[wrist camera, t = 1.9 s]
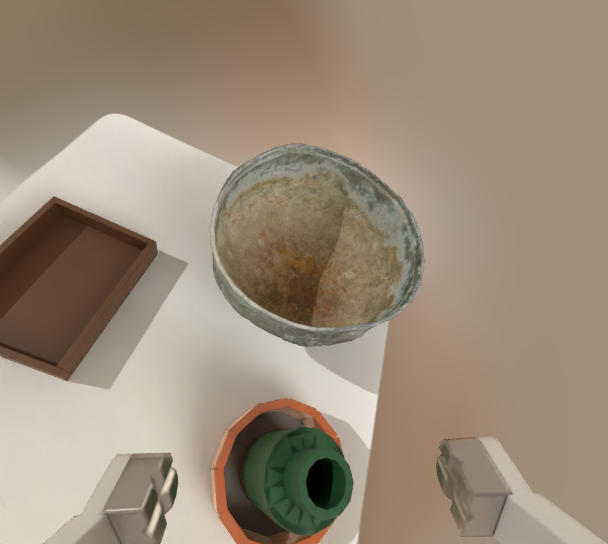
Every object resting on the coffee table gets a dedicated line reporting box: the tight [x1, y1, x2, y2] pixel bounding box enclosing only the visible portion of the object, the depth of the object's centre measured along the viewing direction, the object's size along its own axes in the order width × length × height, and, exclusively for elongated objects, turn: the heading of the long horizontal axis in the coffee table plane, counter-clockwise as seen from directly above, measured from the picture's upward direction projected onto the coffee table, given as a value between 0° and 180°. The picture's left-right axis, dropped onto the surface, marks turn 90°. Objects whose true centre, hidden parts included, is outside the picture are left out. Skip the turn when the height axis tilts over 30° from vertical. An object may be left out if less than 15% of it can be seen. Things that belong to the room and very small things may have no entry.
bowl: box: [210, 144, 425, 347], centre depth 34 cm, size 20×19×15 cm
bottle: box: [240, 427, 353, 535], centre depth 25 cm, size 6×6×14 cm
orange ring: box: [210, 398, 342, 544], centre depth 29 cm, size 12×12×4 cm
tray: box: [0, 197, 158, 381], centre depth 31 cm, size 15×11×3 cm
